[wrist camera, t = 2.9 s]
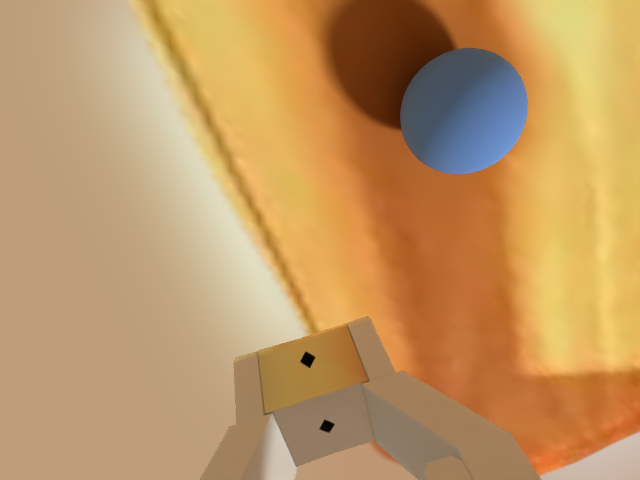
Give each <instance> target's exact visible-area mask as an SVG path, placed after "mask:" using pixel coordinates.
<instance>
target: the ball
mask: <svg viewBox="0 0 640 480" xmlns="http://www.w3.org/2000/svg"><path fill="white" fill-rule="evenodd" d="M526 117H527V93H526V90H525V86H524V84H523V81H522V79H521V77H520V75H519V74H518V72H517V71H516V70H515V68H514V67H513V66H512V65H511V64H510V63H509V62H507V61H506V60H505V59H503V58H502V57H501V56H499V55H497V54H495V53H493V52H490V51H487V50H483V49H475V48H463V49H457V50H452V51H449V52H446V53H444V54H442V55H440V56H438V57H436V58H434V59H433V60H431V61H430V62H428V63H427V64H426V65H424V66H423V67H422V68H421V69H420V70H419V71H418V72H417V74H416V75H415V76H414V78H413V79H412V80H411V82H410V84H409V85H408V87H407V90H406V92H405V94H404V97H403V100H402V105H401V112H400V122H401V129H402V133H403V136H404V139H405V141H406V143H407V145H408V147H409V149H410V150H411V152H412V153H413V154H414V155H415V156H416V157H417V158H418V159H419V160H420V161H421V162H423V163H424V164H425V165H427V166H429V167H430V168H432V169H435V170H438V171H440V172H443V173H449V174H467V173H473V172H477V171H480V170H483V169H485V168H487V167H489V166H491V165H493V164H494V163H496V162H498V161H499V160H500V159H501V158H503V157H504V156H505V155H506V154H507V153H508V152H509V151H510V150H511V149H512V147H513V146H514V145H515V143H516V142H517V140H518V138H519V137H520V135H521V133H522V131H523V128H524V125H525V122H526Z"/></svg>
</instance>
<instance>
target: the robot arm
mask: <svg viewBox="0 0 640 480" xmlns="http://www.w3.org/2000/svg"><path fill="white" fill-rule="evenodd" d="M234 383H235V404H236V425H233V426H230V427H229V428H228V430H227V432H226V434H225V435H224V437H223V439H222V441H221V443H220V444H219V446H218V448H217V450H216V451H215V453H214V455H213V457H212V459H211V460H210V462H209V464H208V466H207V468H206V469H205V471H204V473H203V475H202V476H201V478H200V480H294V478H295V475H296V472H297V468H296V467H297V466H300V465H303V464H305V463H308V462H311V461H313V460H316V459H319V458H321V457H324V456H327V455H330V454H333V453H335V452H339V451H342V450H345V449H349V448H352V447H355V446H358V445H362V444H365V443H368V442H372V441H376V443H377V444H378V445H379V446H380V447H382V448H383V449H384V450H385V451H386V452H387V453H388V454H390V455H391V456H392V457H393V458H394V459H395V460H396V461H397V462H399V463H400V464H401V465H402V466H403V467H404V468H405V469H407V470H408V471H409V472H410V473H411V474H412V475H414V476H415V477H416V478H417V479H418V480H541V478H540V476H539V475H538V473H537V472H536V470H535V469H534V467H533V466H532V464H531V463H530V461H529V460H528V458H527V457H526V455H525V454H524V452H523V451H522V449H521V448H520V446H519V445H518V443H517V442H516V440H515V439H514V437H513V436H512V434H511V433H509V432H508V431H506V430H504V429H503V428H501V427H499V426H497V425H496V424H494V423H492V422H490V421H489V420H487V419H485V418H484V417H482V416H480V415H478V414H477V413H475V412H473V411H472V410H470V409H468V408H466V407H465V406H463V405H461V404H460V403H458V402H456V401H454V400H453V399H451V398H449V397H448V396H446V395H444V394H442V393H441V392H439V391H437V390H436V389H434V388H432V387H430V386H429V385H427V384H425V383H424V382H422V381H420V380H418V379H417V378H415V377H413V376H412V375H410V374H408V373H406V372H405V371H400V372H397V373H396V371H395V369H394V367H393V365H392V363H391V361H390V358H389V356H388V354H387V352H386V350H385V348H384V346H383V344H382V342H381V339H380V337H379V335H378V333H377V331H376V329H375V327H374V325H373V323H372V320H371V319H370V318H369V317H368V316H367V317H364V318H361V319H358V320H355V321H352V322H349V323H346V324H343V325H340V326H337V327H334V328H331V329H327V330H324V331H321V332H318V333H315V334H312V335H309V336H306V337H303V338H300V339H297V340H293V341H290V342H286V343H283V344H279V345H276V346H272V347H269V348H265V349H262V350H259V351H257V352H253V353H250V354H246V355H243V356H239V357H236V358H235V361H234Z"/></svg>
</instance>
